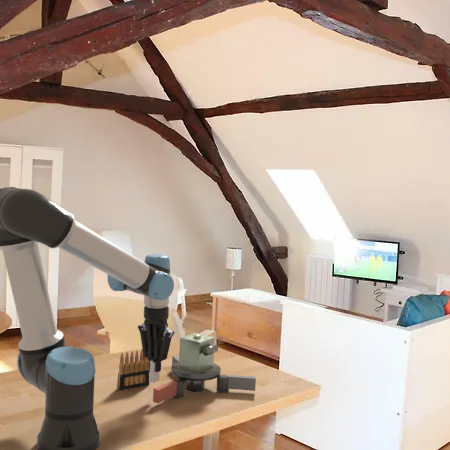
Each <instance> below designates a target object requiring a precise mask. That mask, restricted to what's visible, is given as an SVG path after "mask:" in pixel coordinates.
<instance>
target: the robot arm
mask: <svg viewBox="0 0 450 450" xmlns="http://www.w3.org/2000/svg"><path fill="white" fill-rule="evenodd" d="M39 243H40V244H42V245H45V246H46V247H49V248H50V249H56V248H59V249H61V250H62V251H65V252H66V253H68V254H70V255H72V256H73V257H75V258H77V259H78V260H81V261H83V262H84V263H86V264H88V265H90V266H92V267H94V268H95V269H97V270H99V271H101V272H103V273H105V274H106V275H107V284H108V286H109V288H110V289H111V291H114V292H124V291H128V292H129V291H130V292H131V293H135V294H138V295H141V296H142V295H143V296H144V297H143V304H144V307H143V318H144V321H143V323H142V324H139V325H137V330H138V332H139V335H140V342H141V347H142V349H143V355H144V357H147V358H148V360H149V383H152V384H154V383H156V382H159V381H160V372H161V371H162V362H163V361H165V360H167V359H168V356H169V351H170V346H171V342H172V338H173V336H174V335H175V331H174V330H171V329H170V328H169V323H168V319H169V315H170V313H169V312H170V311H169V310H170V307H169V306H168V305H169V304H170V297H171V295H172V294H173V291H174V290H175V281H174V278H173V277H172V276H171V260H170V259H171V258H170V256H168V255H166V254H160V253H159V254H157V253H156V254H153V253H152V254H151V253H150V254H146V256H145V257H144V258H145V259H144V261H143V260H141V259H140V258H138V257H136V256H134V255H133V254H131V253H129V252H128V251H126V250H124V249H123V248H121V247H119V246H118V245H116V244H114V243H113V242H111V241H110V240H108V239H107V238H105V237H104V236H101V235H100V234H98V233H96V232H95V231H94V230H91V229H89V228H88V227H86V226H85V225H83V224H81V223H80V222H78V221H76V219H75V216H74V214H73V213H72V212H70V211H68V210H67V209H65V208H63V206H61V205H59V204H57V203H56V202H54V200H51V199H50V197H49V198H48V197H47V196H46V195H44V194H42V193H41V192H38V191H36V190H34V189H29V188H20V187H19V188H18V187H14V186H8V187H5V186H4V187H1V188H0V250H1V251H2V254H3V258H4V262H5V267H6V271H7V276H8V280H9V284H10V289H11V293H12V297H13V302H14V306H15V311H16V314H17V319H18V324H19V327H20V333H21V336H22V337H21V339H20V340H19V342H18V345H17V347H18V352H19V353H18V354H17V359H16V364H17V369H18V372H19V374H20V375H21V376H22V378H23V379H24V380H25V381H26V382H27V383H29V384H30V385H32V386H34V387H35V388H36V389H38V390H39V391H41V392H42V393H43V394H44V395H45V401H44V402H45V403H44V404H45V405H44V407H45V408H44V409H45V411H44V417H43V421H42V424H41V427H40V431H39V433H38V435H37V438H36V449H37V450H96V449H98V447H99V445H100V431H99V429H98V425H97V421H96V418H95V415H94V402H95V401H94V400H95V399H94V398H95V378H96V376H95V374H96V364H95V362H96V361H95V357H94V355H93V354H92V353H91V352H90V351H89V350H87V349H84V348H81V347H78V348H77V347H76V346H67V345H66V341H65V335H64V332H63V331H61V330H60V329H58V328H57V326H56V323H55V318H54V313H53V309H52V304H51V300H50V294H49V289H48V284H47V280H46V276H45V271H44V267H43V261H42V257H41V252H40V247H39ZM142 349H141V350H142Z"/></svg>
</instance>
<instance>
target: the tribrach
mask: <svg viewBox="0 0 450 450" xmlns="http://www.w3.org/2000/svg"><path fill="white" fill-rule="evenodd" d="M215 341H216V340H215V337H213V336H209V335H206V334H202V333H198V332H197V333H196V332H193V333H191V334H187V335H184V336H181V337H179V352H178V353H179V354H178V357H179V362H177V363H175V364H173V365H172V364H171V367H170V373H171V375H173V376H174V377H175V378H178V379H179V378H180V379H184V380H186V381H185V390H186V391H187V392H191V393H201V392H204V390H205V382H206V381H211V380H215V379H217V377H219V376H220V375H221V367H220V365H218V364H216V363H214V361H215V359H214V358H215V354H216V353H218V350H219V347H218V345H217V344H215Z"/></svg>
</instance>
